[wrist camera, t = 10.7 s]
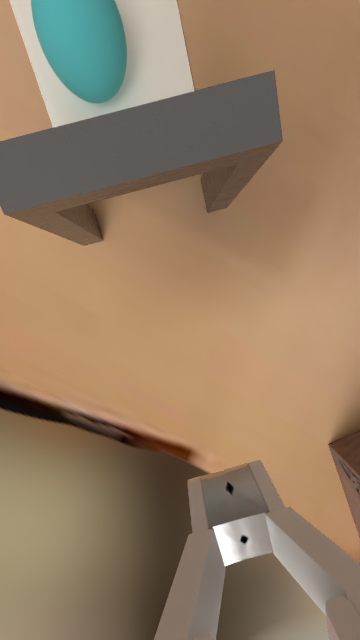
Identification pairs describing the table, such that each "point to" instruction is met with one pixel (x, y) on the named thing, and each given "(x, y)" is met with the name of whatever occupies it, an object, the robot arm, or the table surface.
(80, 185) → the bridge
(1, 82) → the table surface
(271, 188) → the table surface
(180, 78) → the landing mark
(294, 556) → the robot arm
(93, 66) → the ball
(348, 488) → the tissue box cover
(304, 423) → the table surface
